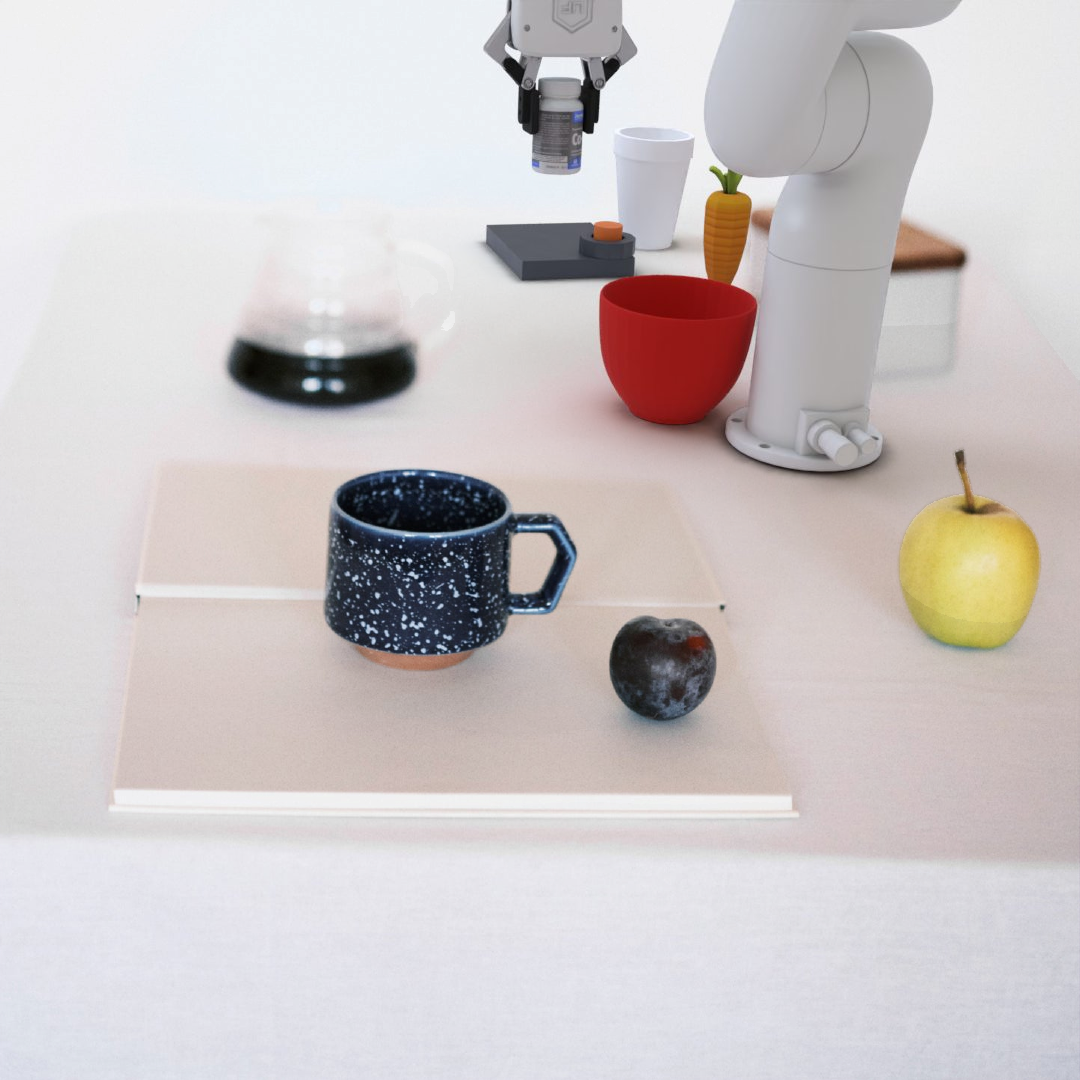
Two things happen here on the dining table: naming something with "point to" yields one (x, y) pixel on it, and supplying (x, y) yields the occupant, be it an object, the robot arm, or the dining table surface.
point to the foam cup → (651, 181)
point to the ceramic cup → (674, 343)
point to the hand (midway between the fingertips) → (557, 129)
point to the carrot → (725, 227)
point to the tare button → (608, 231)
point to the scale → (561, 251)
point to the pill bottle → (558, 127)
